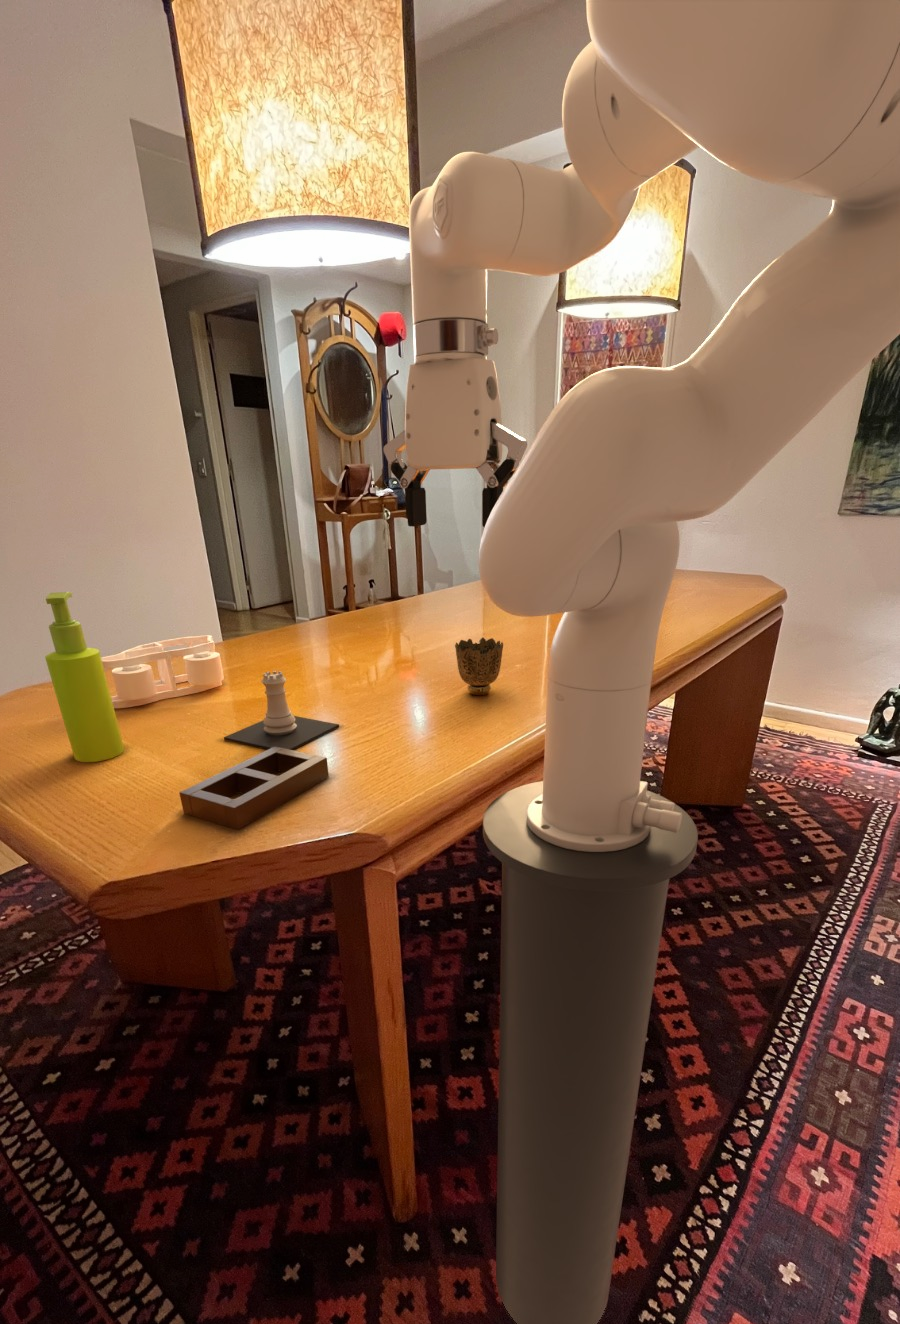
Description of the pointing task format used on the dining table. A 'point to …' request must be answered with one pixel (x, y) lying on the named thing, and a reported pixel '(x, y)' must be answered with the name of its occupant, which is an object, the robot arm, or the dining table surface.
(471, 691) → the cup
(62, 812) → the dining table surface
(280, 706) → the rook chess piece
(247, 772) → the holder
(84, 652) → the soap dispenser
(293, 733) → the coaster
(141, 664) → the skeletal toy car
